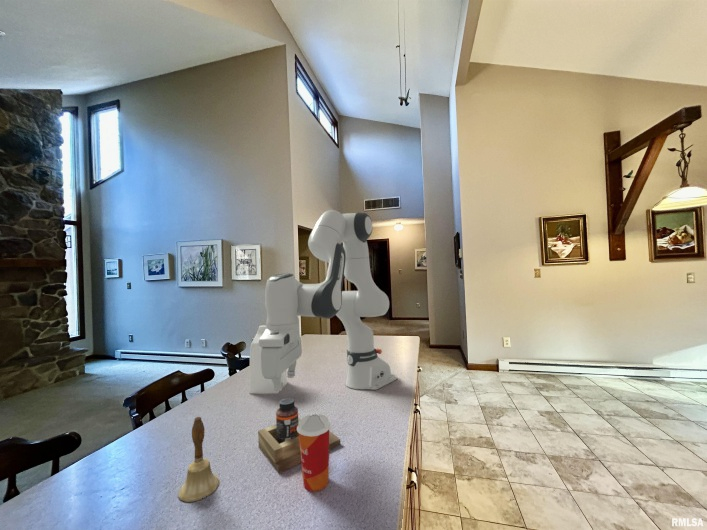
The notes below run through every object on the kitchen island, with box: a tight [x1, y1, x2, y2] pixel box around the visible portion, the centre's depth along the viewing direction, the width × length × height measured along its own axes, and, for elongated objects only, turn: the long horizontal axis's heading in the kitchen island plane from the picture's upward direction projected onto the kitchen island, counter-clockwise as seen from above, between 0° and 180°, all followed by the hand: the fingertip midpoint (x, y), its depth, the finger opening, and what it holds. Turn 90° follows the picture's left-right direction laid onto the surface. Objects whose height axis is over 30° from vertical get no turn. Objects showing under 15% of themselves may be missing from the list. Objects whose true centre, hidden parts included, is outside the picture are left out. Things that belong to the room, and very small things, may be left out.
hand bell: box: [177, 416, 220, 503], centre depth 68 cm, size 8×8×16 cm
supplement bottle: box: [275, 397, 299, 444], centre depth 83 cm, size 6×6×11 cm
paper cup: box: [297, 413, 332, 493], centre depth 69 cm, size 8×8×14 cm
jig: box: [257, 417, 341, 474], centre depth 83 cm, size 18×14×4 cm
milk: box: [248, 325, 288, 394], centre depth 127 cm, size 12×12×26 cm
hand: (285, 383), depth 83 cm, fingers open, 8 cm apart
